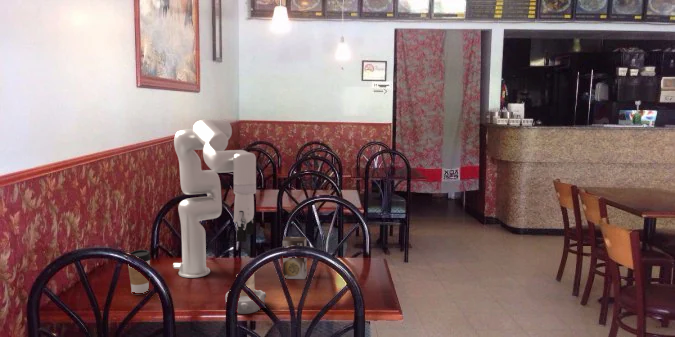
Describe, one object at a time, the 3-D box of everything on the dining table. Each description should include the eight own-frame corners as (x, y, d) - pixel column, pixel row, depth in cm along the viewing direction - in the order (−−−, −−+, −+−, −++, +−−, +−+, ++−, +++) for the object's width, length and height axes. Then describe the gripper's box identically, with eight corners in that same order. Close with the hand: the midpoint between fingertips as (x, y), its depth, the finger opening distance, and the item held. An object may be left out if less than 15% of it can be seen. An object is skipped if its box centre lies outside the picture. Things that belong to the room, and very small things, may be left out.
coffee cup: (156, 289, 208) (155, 250, 206) (142, 296, 200) (140, 256, 198) (138, 286, 210) (137, 248, 208) (123, 293, 202) (121, 254, 200)
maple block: (236, 295, 188) (236, 275, 187) (240, 290, 193) (240, 271, 192) (250, 296, 188) (250, 276, 187) (254, 291, 193) (254, 272, 192)
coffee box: (307, 274, 227) (307, 236, 225) (304, 279, 220) (304, 240, 218) (285, 273, 227) (285, 235, 225) (282, 278, 221) (282, 239, 219)
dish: (248, 318, 181) (248, 303, 181) (216, 310, 188) (216, 296, 187) (274, 304, 194) (274, 290, 193) (243, 297, 201) (243, 284, 200)
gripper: (240, 184, 195) (240, 231, 198) (227, 192, 178) (227, 244, 181) (261, 185, 195) (261, 232, 197) (249, 193, 178) (250, 244, 180)
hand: (245, 237), depth 189 cm, fingers open, 9 cm apart
